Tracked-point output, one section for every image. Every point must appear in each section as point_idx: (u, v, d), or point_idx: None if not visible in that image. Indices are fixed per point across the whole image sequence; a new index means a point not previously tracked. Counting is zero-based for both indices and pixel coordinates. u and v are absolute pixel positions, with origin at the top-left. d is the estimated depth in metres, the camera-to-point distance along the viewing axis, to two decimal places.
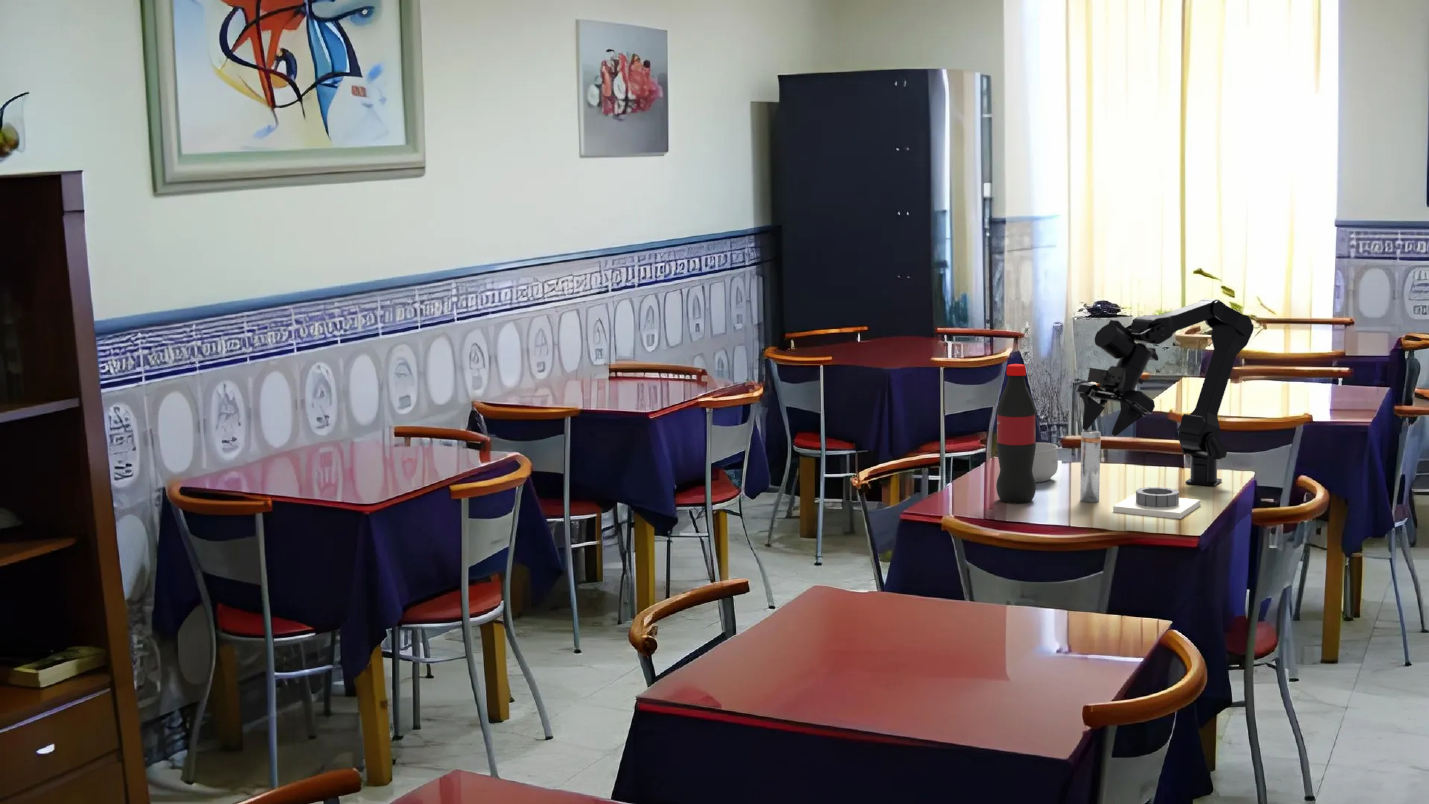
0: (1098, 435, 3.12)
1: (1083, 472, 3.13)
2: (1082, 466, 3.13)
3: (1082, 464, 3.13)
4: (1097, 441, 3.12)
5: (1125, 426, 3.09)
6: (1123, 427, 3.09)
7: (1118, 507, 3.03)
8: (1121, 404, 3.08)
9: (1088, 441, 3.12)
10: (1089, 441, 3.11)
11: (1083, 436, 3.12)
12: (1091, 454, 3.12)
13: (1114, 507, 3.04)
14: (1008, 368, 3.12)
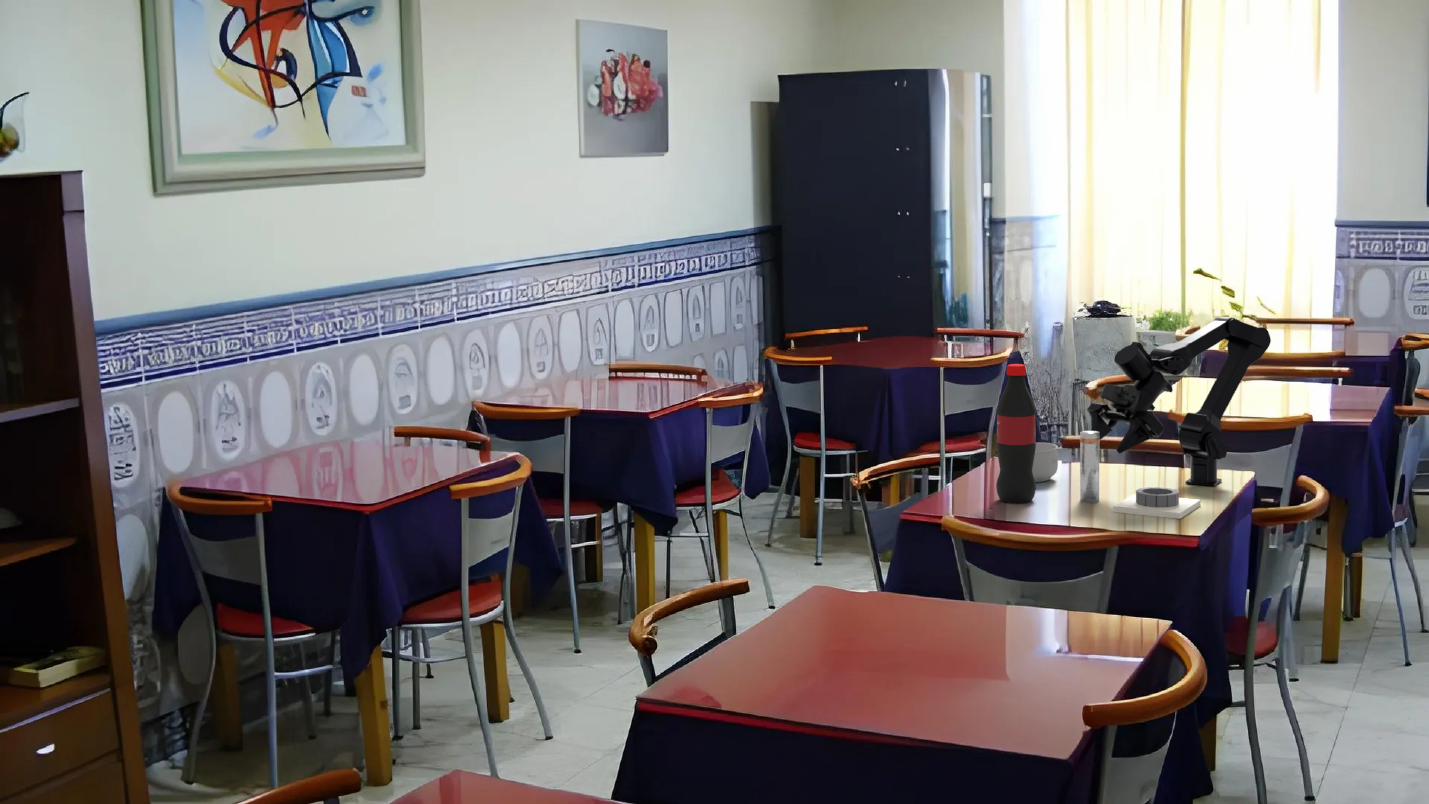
0: (1097, 435, 3.11)
1: (1082, 472, 3.13)
2: (1081, 467, 3.13)
3: (1081, 464, 3.13)
4: (1096, 441, 3.11)
5: (1131, 445, 3.11)
6: (1129, 446, 3.11)
7: (1118, 507, 3.03)
8: (1131, 422, 3.10)
9: (1087, 442, 3.11)
10: (1088, 442, 3.11)
11: (1082, 437, 3.12)
12: (1090, 455, 3.11)
13: (1114, 507, 3.04)
14: (1008, 368, 3.12)
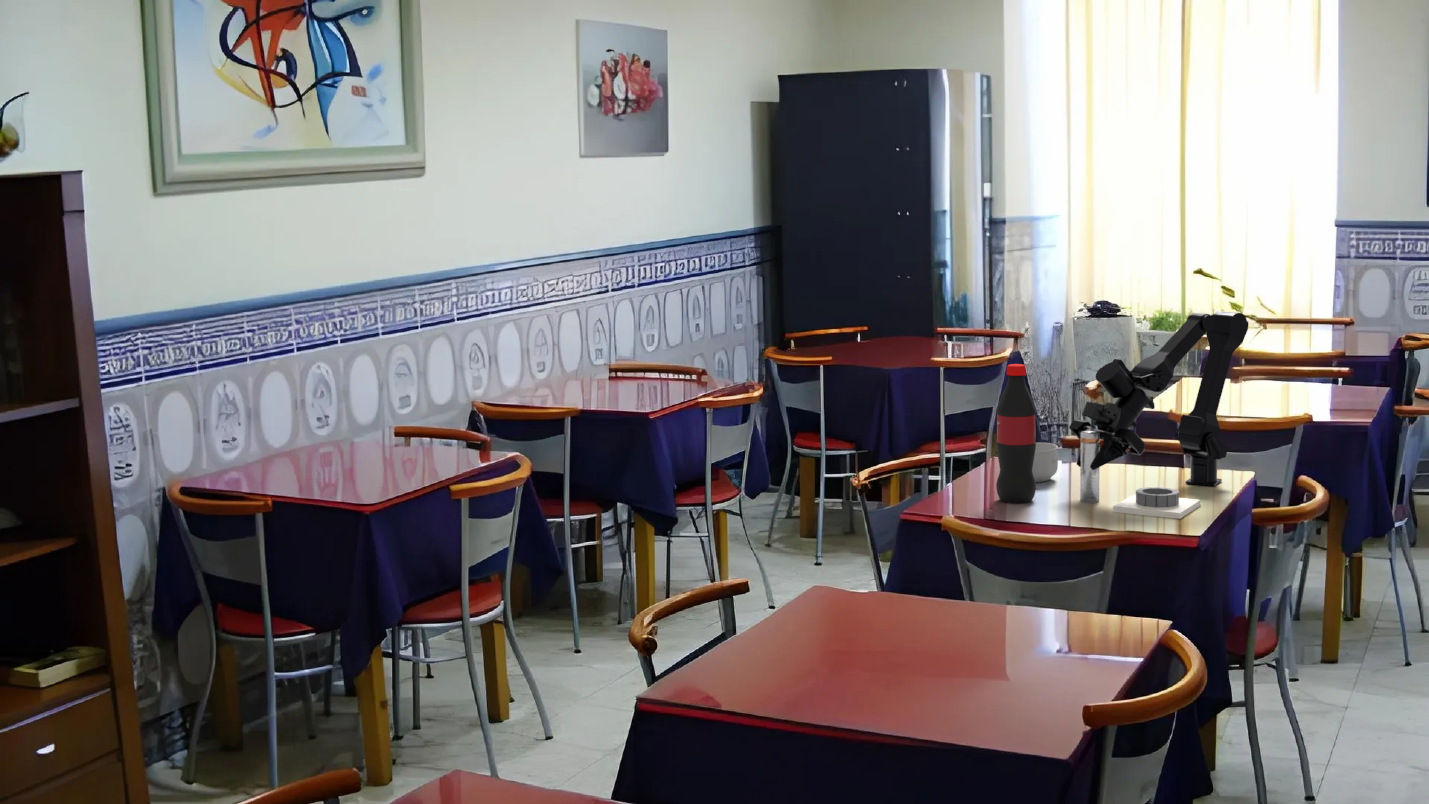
0: (1097, 435, 3.11)
1: (1082, 472, 3.13)
2: (1082, 467, 3.13)
3: (1081, 464, 3.13)
4: (1096, 441, 3.11)
5: (1104, 462, 3.11)
6: (1102, 462, 3.11)
7: (1118, 507, 3.03)
8: (1104, 439, 3.11)
9: (1087, 442, 3.11)
10: (1088, 442, 3.11)
11: (1082, 437, 3.12)
12: (1090, 454, 3.12)
13: (1114, 507, 3.04)
14: (1008, 368, 3.12)
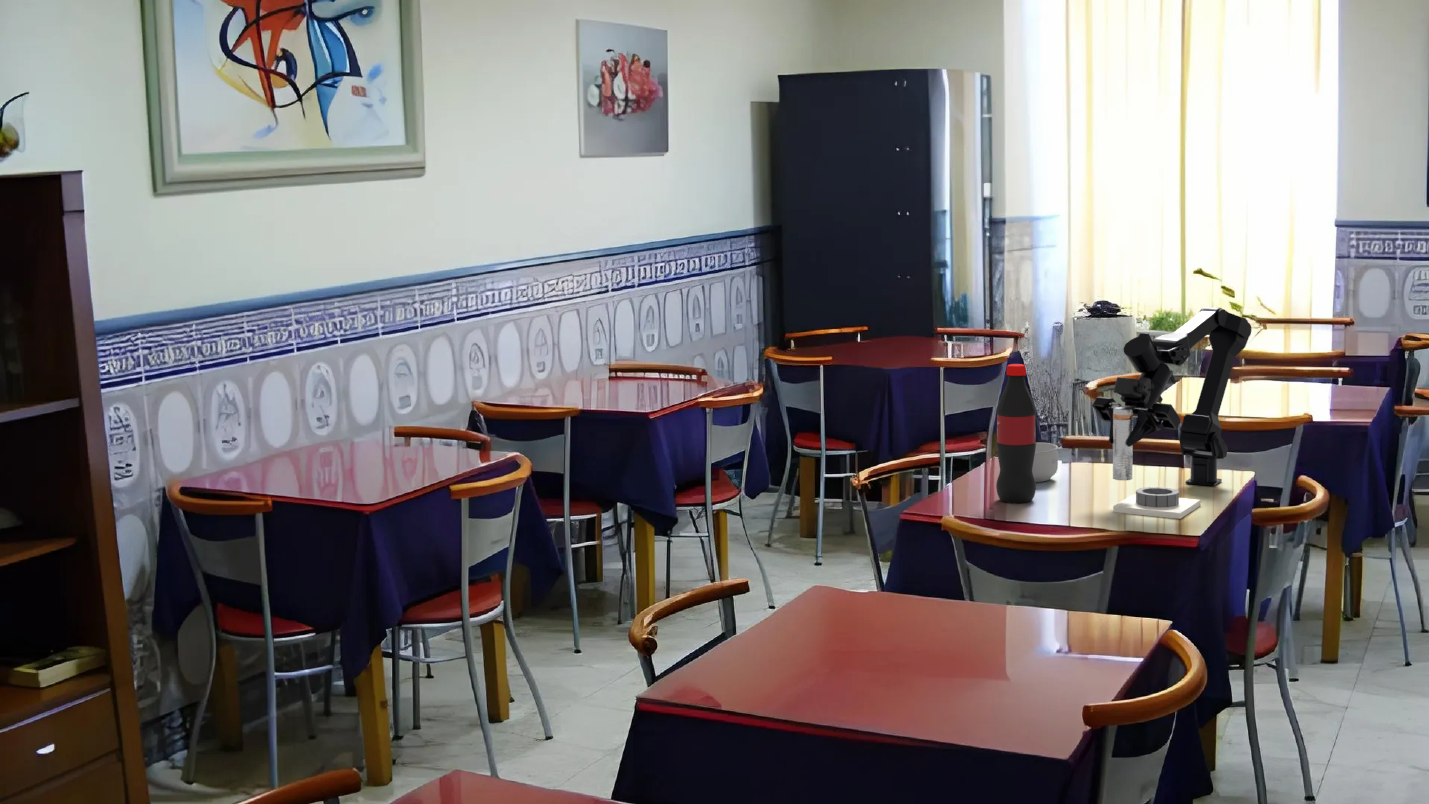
0: (1132, 411, 3.05)
1: (1117, 449, 3.06)
2: (1116, 444, 3.07)
3: (1115, 442, 3.07)
4: (1131, 418, 3.05)
5: (1139, 438, 3.06)
6: (1137, 438, 3.06)
7: (1118, 507, 3.03)
8: (1139, 414, 3.05)
9: (1123, 418, 3.05)
10: (1124, 418, 3.05)
11: (1117, 413, 3.05)
12: (1126, 431, 3.05)
13: (1114, 507, 3.04)
14: (1008, 368, 3.12)
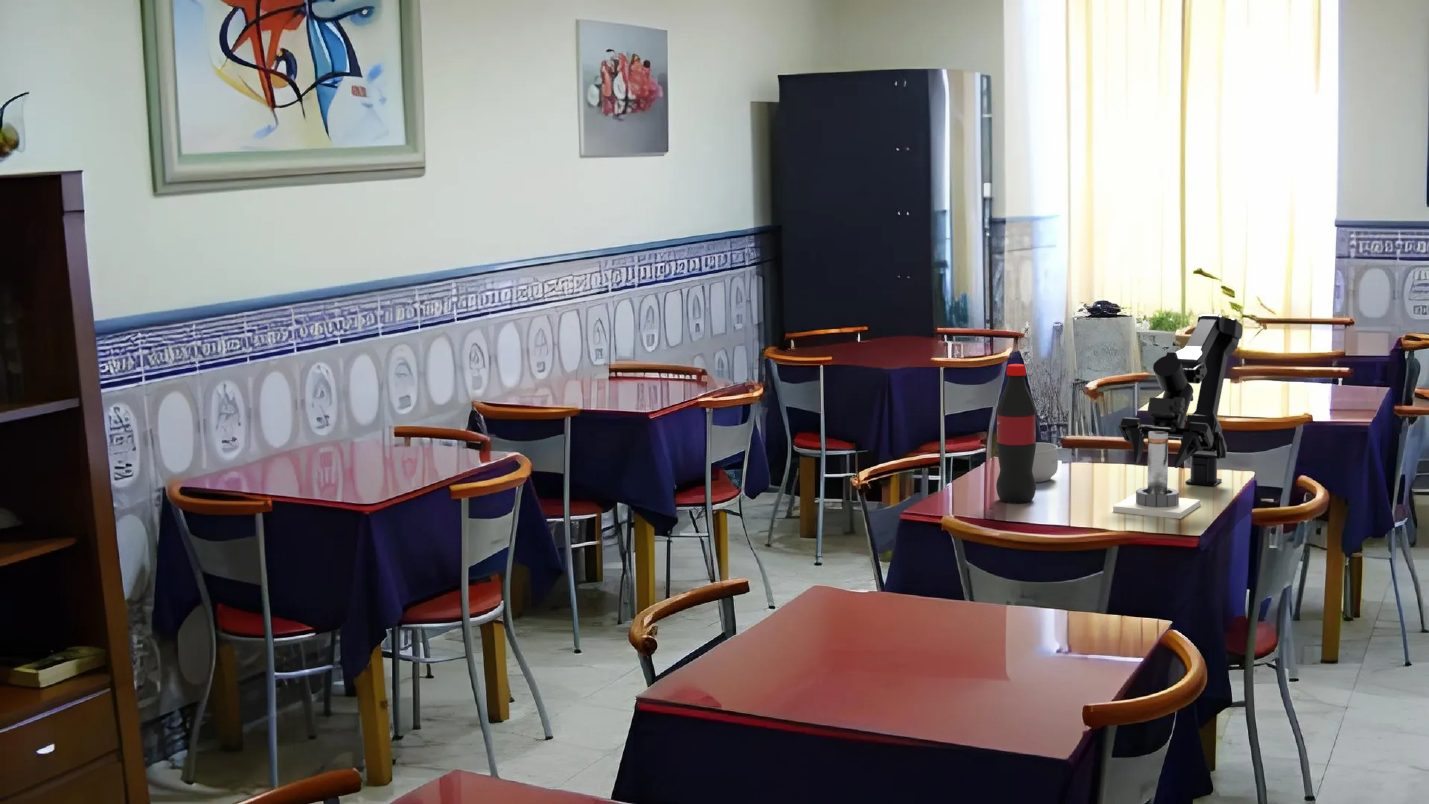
0: (1167, 435, 3.02)
1: (1154, 474, 3.03)
2: (1153, 469, 3.03)
3: (1152, 466, 3.03)
4: (1167, 441, 3.02)
5: (1184, 458, 3.02)
6: (1183, 459, 3.02)
7: (1118, 507, 3.03)
8: (1184, 435, 3.01)
9: (1160, 442, 3.02)
10: (1161, 442, 3.02)
11: (1154, 437, 3.02)
12: (1163, 455, 3.02)
13: (1114, 507, 3.04)
14: (1008, 368, 3.12)
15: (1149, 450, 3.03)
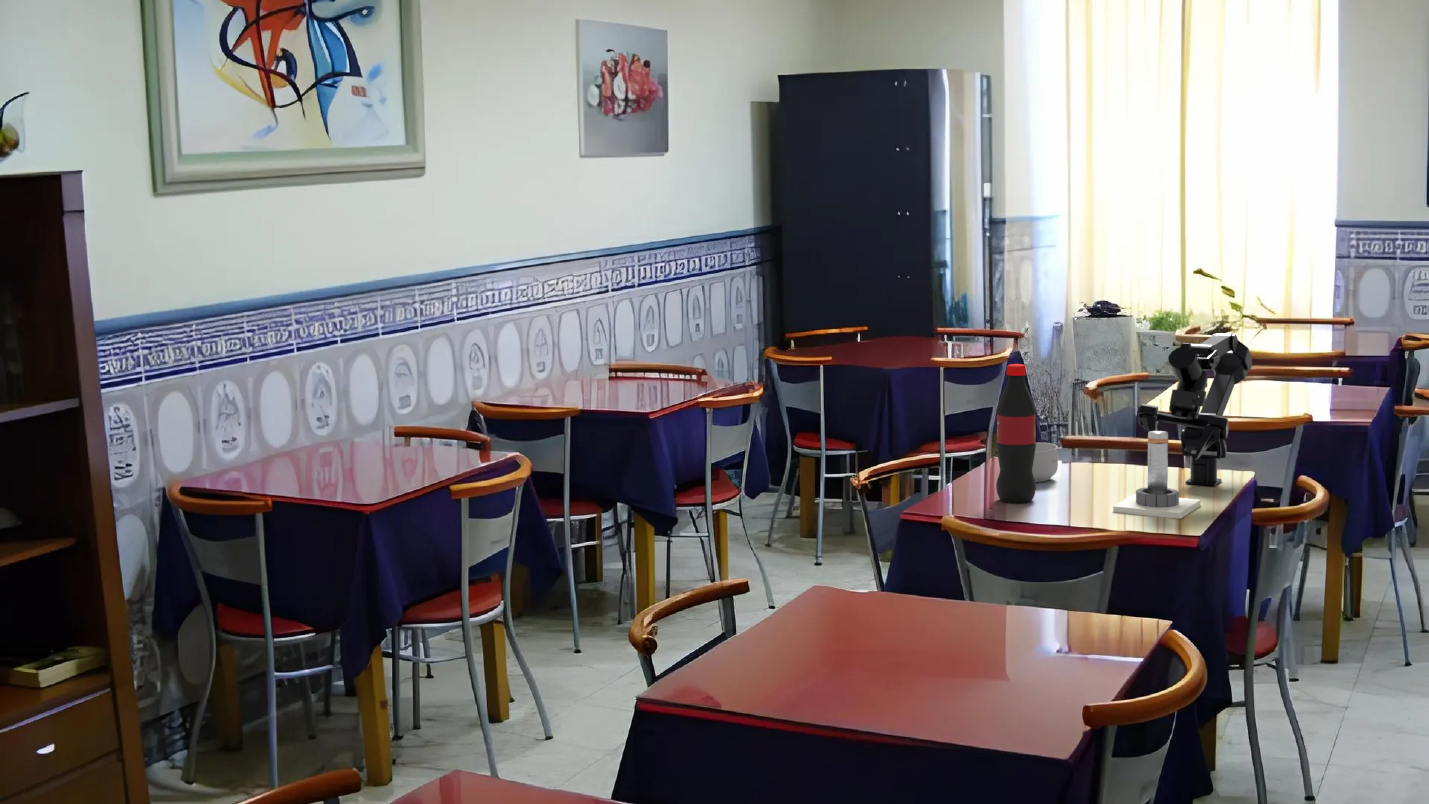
0: (1167, 435, 3.03)
1: (1154, 474, 3.03)
2: (1153, 468, 3.03)
3: (1152, 466, 3.03)
4: (1167, 441, 3.03)
5: (1203, 450, 3.10)
6: (1202, 451, 3.10)
7: (1118, 507, 3.03)
8: (1206, 428, 3.09)
9: (1160, 442, 3.02)
10: (1161, 442, 3.02)
11: (1154, 437, 3.02)
12: (1163, 455, 3.02)
13: (1114, 507, 3.04)
14: (1008, 368, 3.12)
15: (1149, 450, 3.03)
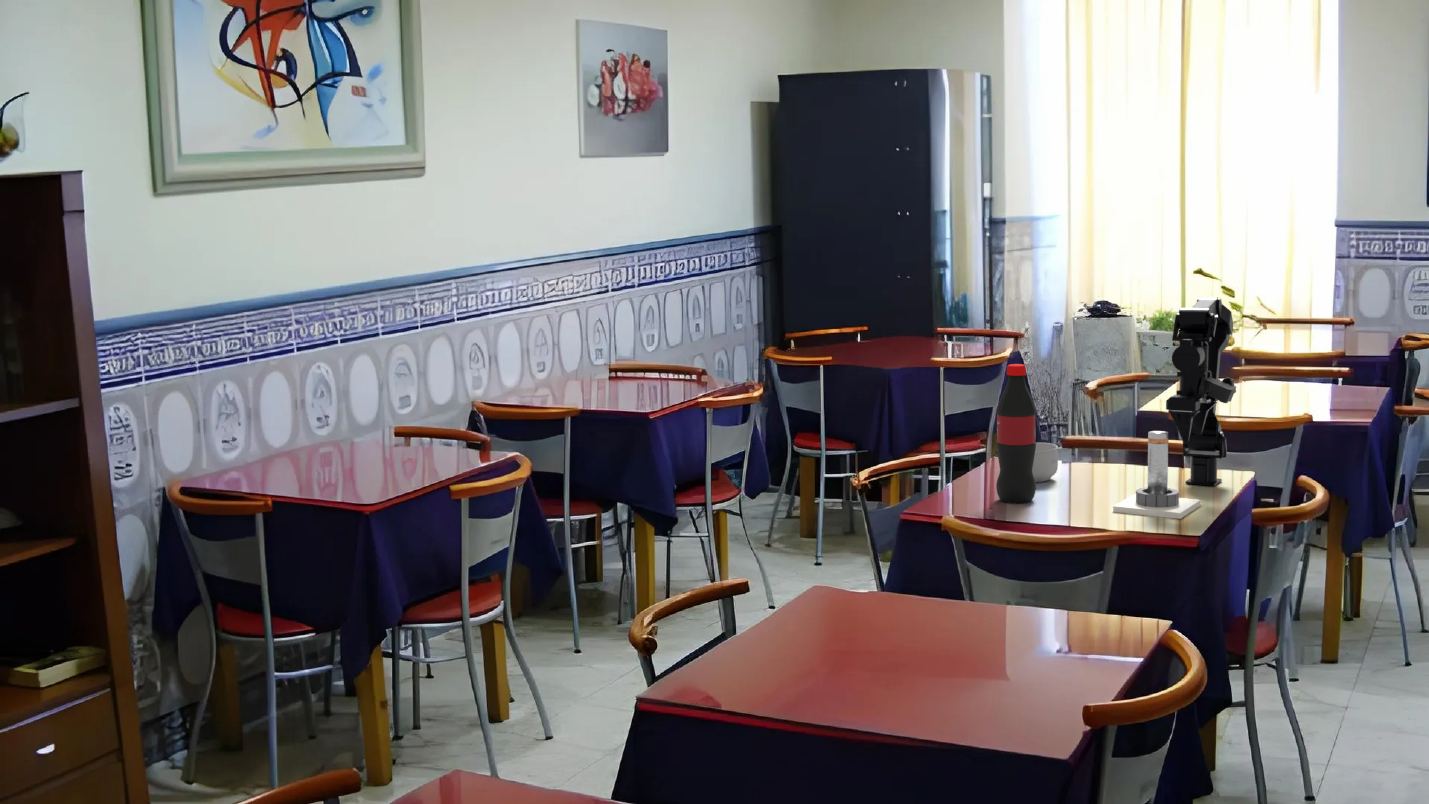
0: None
1: (1154, 474, 3.03)
2: (1153, 468, 3.03)
3: (1152, 466, 3.03)
4: (1167, 441, 3.03)
5: None
6: None
7: (1118, 507, 3.03)
8: (1212, 406, 3.16)
9: (1160, 442, 3.02)
10: (1161, 442, 3.02)
11: (1154, 437, 3.02)
12: (1163, 455, 3.02)
13: (1114, 507, 3.04)
14: (1008, 368, 3.12)
15: (1149, 450, 3.03)
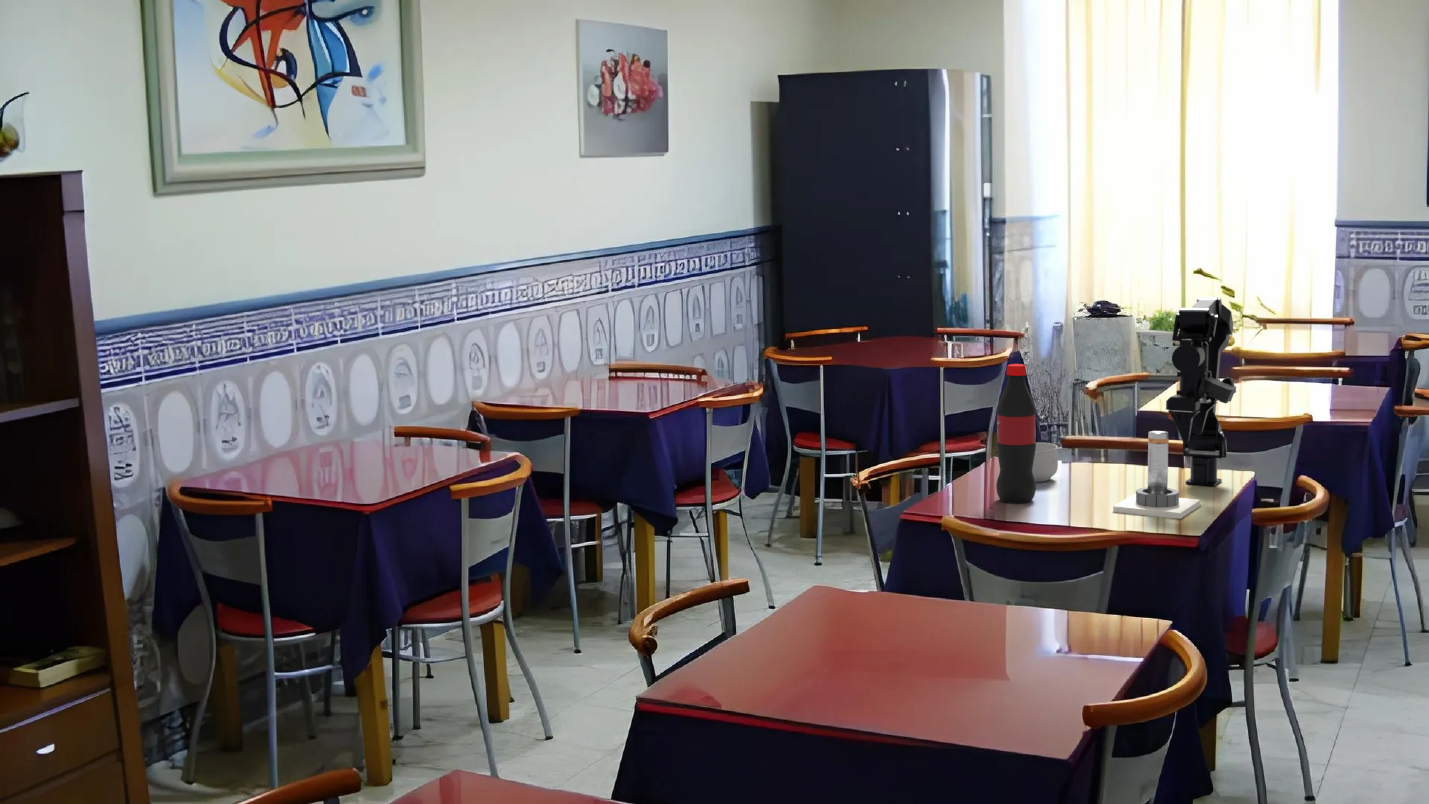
0: None
1: (1154, 474, 3.03)
2: (1153, 468, 3.03)
3: (1152, 466, 3.03)
4: (1167, 441, 3.03)
5: None
6: None
7: (1118, 507, 3.03)
8: (1212, 406, 3.16)
9: (1161, 442, 3.02)
10: (1162, 442, 3.02)
11: (1154, 437, 3.02)
12: (1163, 455, 3.02)
13: (1114, 507, 3.04)
14: (1008, 368, 3.12)
15: (1149, 450, 3.03)
